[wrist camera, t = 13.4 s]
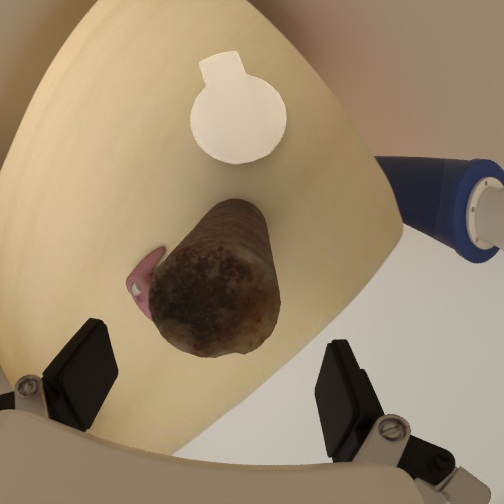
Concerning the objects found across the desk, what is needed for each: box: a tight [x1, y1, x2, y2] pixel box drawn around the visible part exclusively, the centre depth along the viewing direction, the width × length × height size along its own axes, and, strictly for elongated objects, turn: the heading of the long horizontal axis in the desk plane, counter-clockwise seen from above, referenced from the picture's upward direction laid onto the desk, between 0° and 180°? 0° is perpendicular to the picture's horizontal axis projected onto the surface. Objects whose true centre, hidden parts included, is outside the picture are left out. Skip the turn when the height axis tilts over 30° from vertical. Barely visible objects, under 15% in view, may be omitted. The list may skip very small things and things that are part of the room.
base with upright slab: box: [190, 51, 287, 164], centre depth 23 cm, size 9×9×12 cm
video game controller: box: [126, 248, 165, 321], centre depth 33 cm, size 10×5×7 cm, turn 38°
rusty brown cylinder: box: [148, 199, 281, 358], centre depth 23 cm, size 8×7×20 cm
